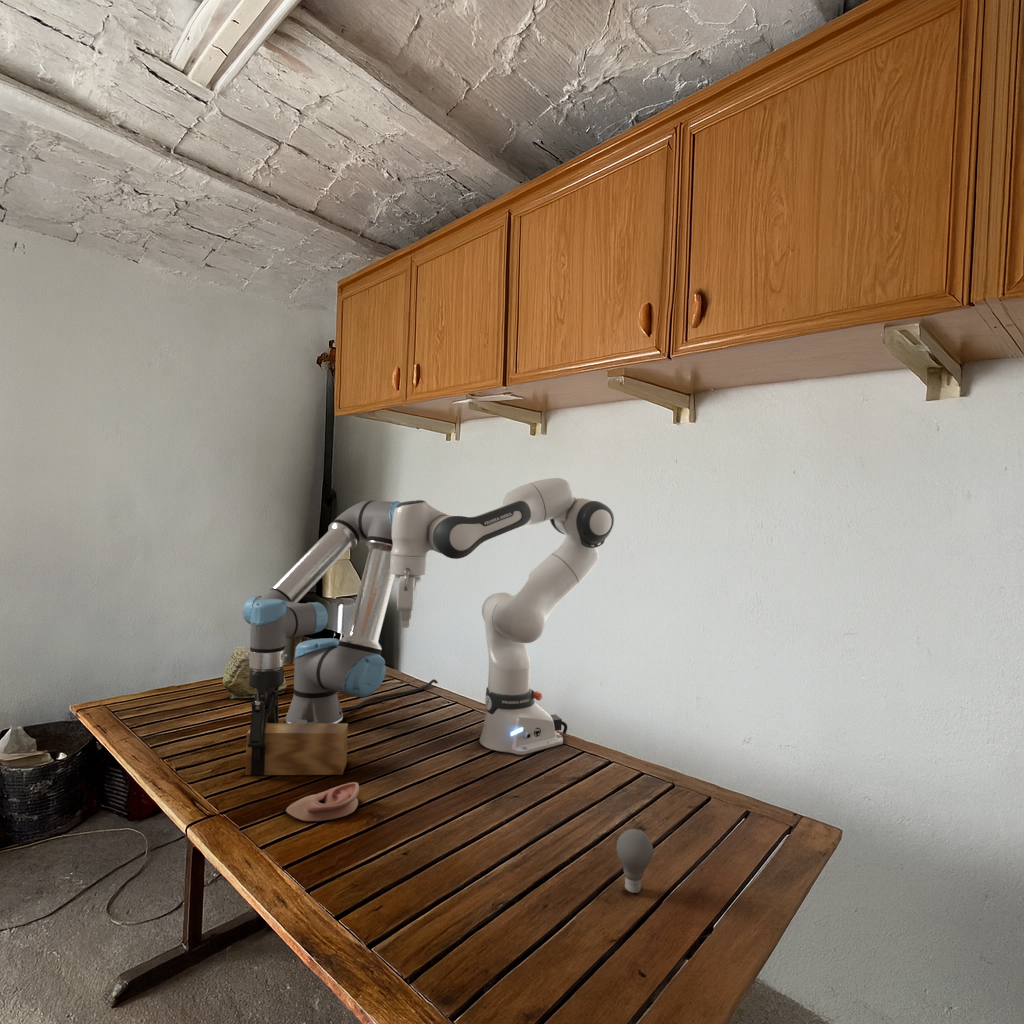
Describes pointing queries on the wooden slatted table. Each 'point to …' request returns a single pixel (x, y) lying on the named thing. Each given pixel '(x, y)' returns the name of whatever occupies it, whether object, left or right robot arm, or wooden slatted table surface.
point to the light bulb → (634, 857)
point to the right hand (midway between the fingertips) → (406, 623)
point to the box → (303, 749)
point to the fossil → (241, 675)
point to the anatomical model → (326, 804)
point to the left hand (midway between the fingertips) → (263, 765)
